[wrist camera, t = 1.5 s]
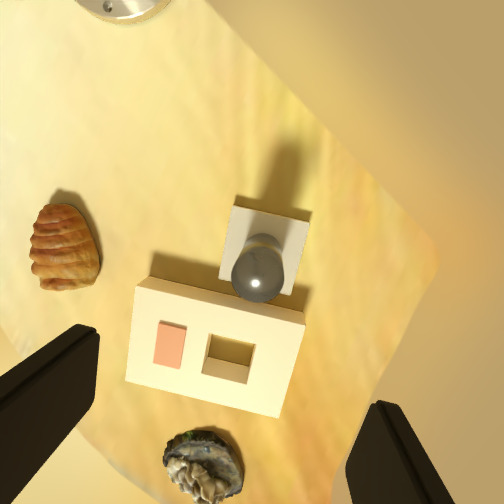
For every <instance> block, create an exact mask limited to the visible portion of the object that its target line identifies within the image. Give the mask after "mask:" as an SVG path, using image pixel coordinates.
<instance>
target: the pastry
mask: <svg viewBox="0 0 504 504" xmlns="http://www.w3.org/2000/svg"><path fill="white" fill-rule="evenodd" d="M33 228H34V234H33V235H32V237H31V238H30V241H31V243H32V247H31V249H30V254H29V257H30V258H31V259H32V260H34V263H33V264H32V266H31V270H32V273H33V274H34V275H37V276H38V277H39V278H40V287H41V288H43V289H44V290H50V291H64V290H74V289H79V288H84V287H88V286H92V285H93V284H94V283H95V281H96V278H97V275H98V271H99V268H100V265H99V254H98V251H97V248H96V245H95V242H94V239H93V237H92V235H91V232H90V229H89V227H88V225H87V223H86V220H85V218H84V217H83V216H82V215H81V214H80V212H79V211H78V210H77V209H76V208H74V207H73V206H71V205H68V204H47V205H45V206H44V207H43V209H42V210H41V211H40V212H39V215H38V218H37V221H36V222H35V223H34V224H33Z"/></svg>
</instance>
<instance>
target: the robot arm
mask: <svg viewBox="0 0 504 504" xmlns="http://www.w3.org/2000/svg"><path fill="white" fill-rule="evenodd" d="M75 1H76V2H77V3H78V4H79V5H80V6H81V7H83V8H84V9H85V10H87V11H88V12H89V13H90V14H92V15H94V16H96V17H97V18H99V19H101V20H103V21H107V22H111V23H114V24H133V23H138V22H142V21H144V20H146V19H149V18H151V17H153V16H154V15H156V14H157V13H158V12H159V11H161V10H162V9H163V8H164V7H165V6H166V5H167V4H168V3H169V2H170V0H75ZM99 342H100V335H99V334H98V333H96V329H95V328H93V327H89V326H85V325H81V324H76V325H74V326H72V327H71V328H69V329H68V330H67V331H65V332H64V333H62V334H61V335H59V336H58V337H57V338H55V339H54V340H52V341H51V342H49V343H48V344H46V345H45V346H44V347H42V348H41V349H39V350H38V351H36V352H35V353H33V354H32V355H31V356H29V357H28V358H26V359H25V360H23V361H22V362H21V363H19V364H18V365H16V366H15V367H13V368H12V369H10V370H9V371H8V372H6V373H5V374H3V375H2V376H0V504H11V503H12V502H13V500H14V499H15V498H16V497H17V496H18V494H19V493H20V492H21V491H22V490H23V488H24V487H25V486H26V485H27V484H28V482H29V481H30V480H31V479H32V477H33V476H34V475H35V474H36V473H37V471H38V470H39V469H40V468H41V467H42V465H43V464H44V463H45V462H46V461H47V459H48V458H49V457H50V455H52V453H53V452H54V451H55V450H56V449H57V447H58V446H59V445H60V444H61V442H62V441H63V440H64V439H65V438H66V437H67V435H68V434H69V433H70V432H71V430H72V429H73V428H74V427H75V426H76V424H77V423H78V422H79V421H80V420H81V418H82V417H83V416H84V415H85V414H86V412H87V411H88V410H89V409H90V407H91V405H92V403H93V401H94V397H95V387H96V376H97V365H98V353H99ZM345 468H346V469H345V470H346V471H345V472H346V478H347V482H348V486H349V491H350V495H351V499H352V503H353V504H455V503H454V501H453V499H452V498H451V496H450V494H449V492H448V490H447V489H446V487H445V485H444V484H443V482H442V480H441V478H440V476H439V475H438V473H437V471H436V469H435V468H434V466H433V464H432V462H431V461H430V459H429V457H428V455H427V454H426V452H425V450H424V448H423V447H422V445H421V443H420V441H419V440H418V438H417V436H416V434H415V432H414V431H413V429H412V427H411V426H410V424H409V422H408V420H407V418H406V417H405V415H404V413H403V412H402V410H401V408H400V407H399V406H398V405H397V404H394V403H390V402H386V401H382V400H378V401H377V402H376V403H375V404H374V403H373V404H371V405H370V408H369V410H368V412H367V415H366V417H365V419H364V422H363V424H362V427H361V429H360V431H359V434H358V436H357V438H356V441H355V443H354V445H353V448H352V450H351V453H350V455H349V457H348V460H347V462H346V467H345Z"/></svg>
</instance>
